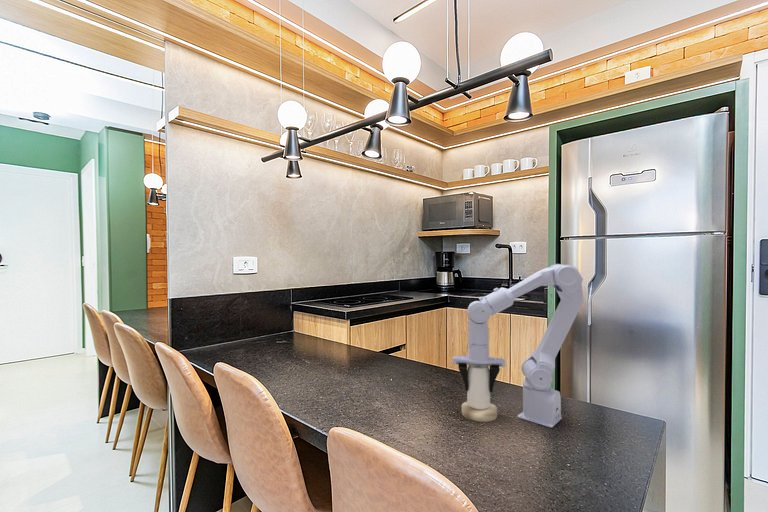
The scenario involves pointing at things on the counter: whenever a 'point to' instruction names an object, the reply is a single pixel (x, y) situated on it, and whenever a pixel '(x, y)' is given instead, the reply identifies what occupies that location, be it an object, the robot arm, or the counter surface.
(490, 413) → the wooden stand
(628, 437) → the counter surface
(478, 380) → the can
